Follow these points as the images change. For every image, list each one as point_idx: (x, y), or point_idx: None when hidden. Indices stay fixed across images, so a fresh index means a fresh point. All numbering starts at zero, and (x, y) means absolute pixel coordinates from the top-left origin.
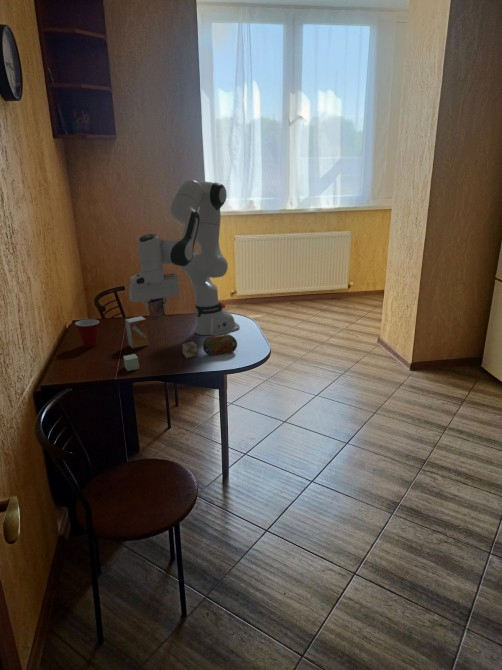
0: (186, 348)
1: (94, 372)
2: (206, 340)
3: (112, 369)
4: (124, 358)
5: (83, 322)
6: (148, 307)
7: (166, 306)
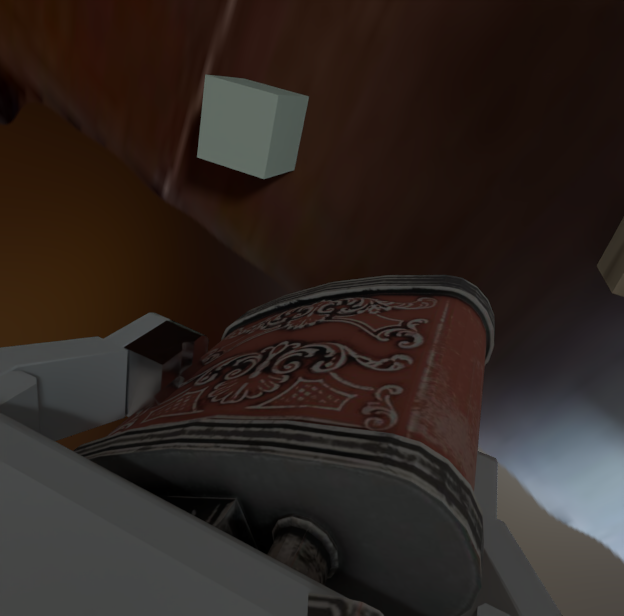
0: (614, 291)
1: (102, 21)
2: None
3: (182, 58)
4: (202, 116)
5: None
6: (128, 406)
7: None
